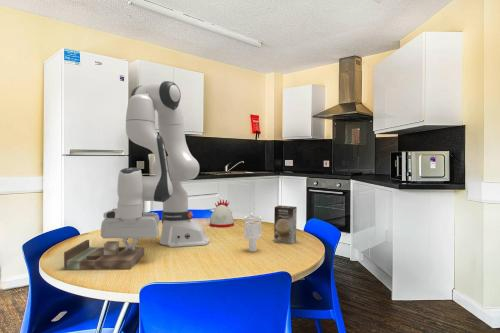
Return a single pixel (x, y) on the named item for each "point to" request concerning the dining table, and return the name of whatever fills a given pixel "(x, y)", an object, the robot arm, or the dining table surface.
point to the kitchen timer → (221, 216)
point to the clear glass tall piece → (252, 230)
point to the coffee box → (285, 224)
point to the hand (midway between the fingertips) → (130, 250)
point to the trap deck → (100, 258)
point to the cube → (111, 247)
